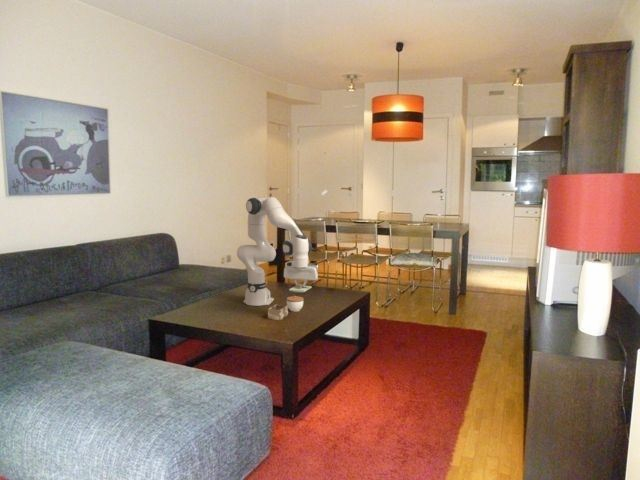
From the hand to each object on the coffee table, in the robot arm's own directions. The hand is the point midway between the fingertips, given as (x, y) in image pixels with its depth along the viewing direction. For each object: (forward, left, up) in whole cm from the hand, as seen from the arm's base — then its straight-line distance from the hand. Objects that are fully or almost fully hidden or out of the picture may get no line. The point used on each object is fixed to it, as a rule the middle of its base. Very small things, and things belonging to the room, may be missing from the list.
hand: (300, 286), depth 287 cm
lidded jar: (-20, -11, -20) cm, 31 cm away
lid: (0, 0, -1) cm, 1 cm away
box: (-2, -15, -20) cm, 25 cm away
